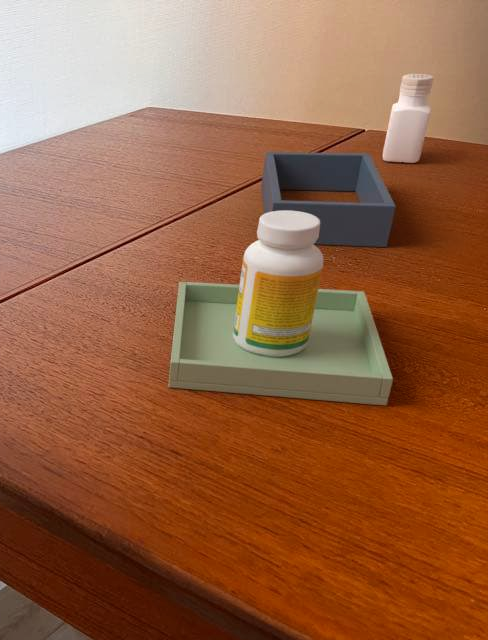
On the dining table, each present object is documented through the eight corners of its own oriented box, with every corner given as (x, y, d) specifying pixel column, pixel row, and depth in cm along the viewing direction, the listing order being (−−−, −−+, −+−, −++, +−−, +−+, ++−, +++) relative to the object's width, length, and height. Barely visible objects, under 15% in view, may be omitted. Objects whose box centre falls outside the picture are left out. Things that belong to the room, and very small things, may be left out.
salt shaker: (418, 155, 104) (437, 73, 99) (418, 164, 101) (438, 80, 96) (382, 153, 106) (399, 72, 101) (381, 162, 103) (398, 79, 98)
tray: (359, 315, 69) (364, 291, 68) (386, 406, 57) (393, 378, 56) (177, 304, 72) (179, 281, 71) (168, 387, 61) (170, 361, 60)
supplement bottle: (217, 334, 66) (232, 214, 61) (275, 321, 67) (295, 202, 62) (263, 365, 62) (282, 237, 57) (324, 349, 63) (348, 224, 58)
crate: (362, 189, 95) (369, 153, 93) (386, 247, 80) (396, 206, 78) (260, 187, 97) (265, 151, 95) (267, 242, 83) (273, 202, 81)
